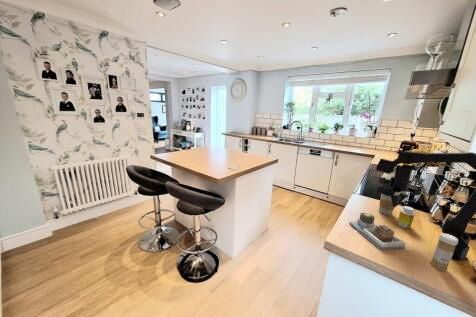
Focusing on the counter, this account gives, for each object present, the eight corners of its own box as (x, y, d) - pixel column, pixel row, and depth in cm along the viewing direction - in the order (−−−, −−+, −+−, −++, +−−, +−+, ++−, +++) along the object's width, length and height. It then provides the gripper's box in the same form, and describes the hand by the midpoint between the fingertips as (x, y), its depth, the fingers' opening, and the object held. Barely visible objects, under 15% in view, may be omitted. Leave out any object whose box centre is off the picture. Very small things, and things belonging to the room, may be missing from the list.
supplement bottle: (408, 229, 96) (413, 211, 94) (395, 224, 101) (400, 206, 98) (412, 226, 99) (417, 209, 97) (399, 221, 104) (403, 204, 101)
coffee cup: (394, 212, 113) (401, 189, 109) (393, 217, 107) (400, 193, 103) (377, 207, 118) (383, 185, 115) (375, 212, 112) (381, 188, 109)
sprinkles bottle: (445, 266, 73) (457, 236, 70) (447, 273, 70) (460, 242, 66) (429, 260, 76) (439, 231, 73) (430, 267, 73) (441, 236, 69)
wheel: (376, 222, 93) (378, 218, 92) (366, 223, 92) (367, 218, 91) (367, 216, 99) (368, 211, 98) (356, 216, 98) (357, 212, 97)
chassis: (404, 248, 82) (407, 240, 82) (380, 249, 81) (382, 242, 80) (369, 223, 101) (371, 216, 100) (349, 224, 99) (350, 217, 98)
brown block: (391, 241, 85) (394, 230, 83) (382, 242, 84) (385, 230, 82) (381, 234, 89) (384, 223, 88) (373, 234, 89) (376, 224, 87)
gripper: (402, 171, 100) (395, 198, 104) (371, 171, 97) (364, 199, 101) (425, 178, 89) (416, 208, 93) (391, 179, 86) (383, 210, 90)
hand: (394, 206), depth 94 cm, fingers closed
